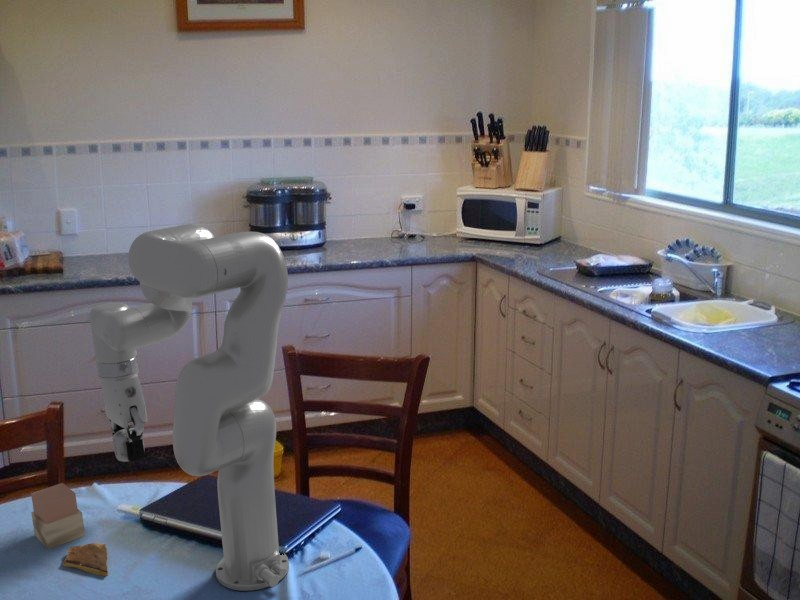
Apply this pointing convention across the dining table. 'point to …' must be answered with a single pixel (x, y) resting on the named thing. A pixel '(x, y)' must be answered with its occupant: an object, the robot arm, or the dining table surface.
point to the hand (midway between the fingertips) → (129, 453)
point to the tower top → (54, 503)
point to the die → (121, 445)
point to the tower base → (58, 529)
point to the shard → (88, 558)
